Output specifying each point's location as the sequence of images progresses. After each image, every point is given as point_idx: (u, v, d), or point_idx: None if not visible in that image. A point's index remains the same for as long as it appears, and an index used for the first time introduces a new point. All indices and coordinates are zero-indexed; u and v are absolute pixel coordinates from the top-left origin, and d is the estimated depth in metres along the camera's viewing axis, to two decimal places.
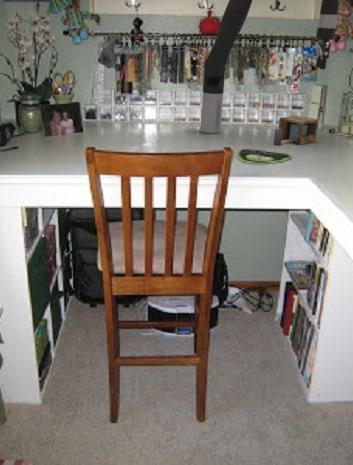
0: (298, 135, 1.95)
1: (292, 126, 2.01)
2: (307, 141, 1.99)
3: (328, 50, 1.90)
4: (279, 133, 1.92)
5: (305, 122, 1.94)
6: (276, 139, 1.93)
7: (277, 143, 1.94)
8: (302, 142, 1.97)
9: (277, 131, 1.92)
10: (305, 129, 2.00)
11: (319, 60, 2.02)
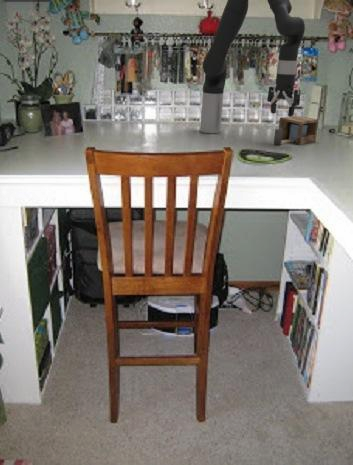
0: (298, 135, 1.95)
1: (292, 126, 2.01)
2: (307, 141, 1.99)
3: None
4: (279, 133, 1.92)
5: (305, 122, 1.94)
6: (276, 139, 1.93)
7: (277, 143, 1.94)
8: (302, 142, 1.97)
9: (277, 131, 1.92)
10: (305, 129, 2.00)
11: None
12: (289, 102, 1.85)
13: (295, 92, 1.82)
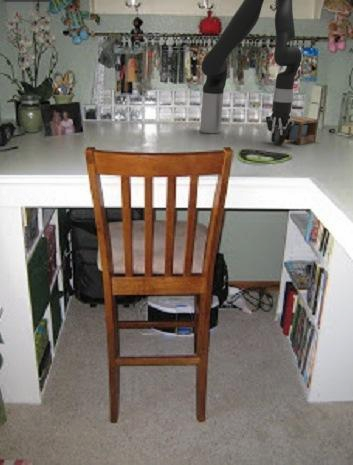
0: (298, 135, 1.95)
1: None
2: (307, 141, 1.99)
3: None
4: (279, 133, 1.92)
5: (305, 122, 1.94)
6: (276, 139, 1.93)
7: (277, 143, 1.94)
8: (302, 142, 1.97)
9: (277, 131, 1.92)
10: (305, 129, 2.00)
11: None
12: (281, 130, 1.91)
13: (289, 123, 1.87)
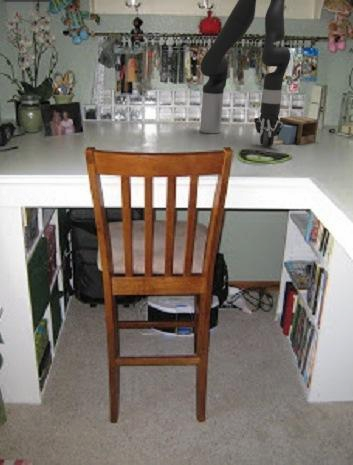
0: (298, 135, 1.95)
1: None
2: (307, 141, 1.99)
3: None
4: (268, 135, 1.88)
5: (305, 122, 1.94)
6: (265, 141, 1.89)
7: (266, 145, 1.90)
8: (302, 142, 1.97)
9: (266, 133, 1.88)
10: (294, 130, 1.97)
11: None
12: (269, 132, 1.87)
13: (278, 125, 1.83)
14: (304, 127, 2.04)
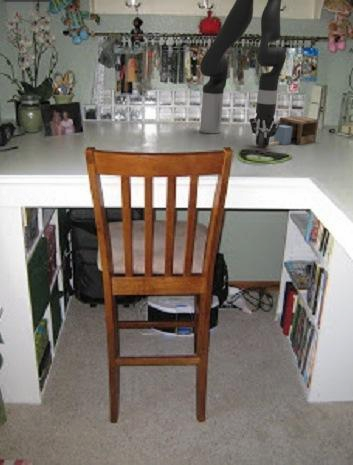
0: (298, 135, 1.95)
1: None
2: (307, 141, 1.99)
3: None
4: (263, 136, 1.86)
5: (305, 122, 1.94)
6: (260, 142, 1.87)
7: (261, 146, 1.88)
8: (302, 142, 1.97)
9: (261, 134, 1.86)
10: (290, 131, 1.95)
11: None
12: (265, 133, 1.85)
13: (273, 126, 1.81)
14: (304, 127, 2.04)
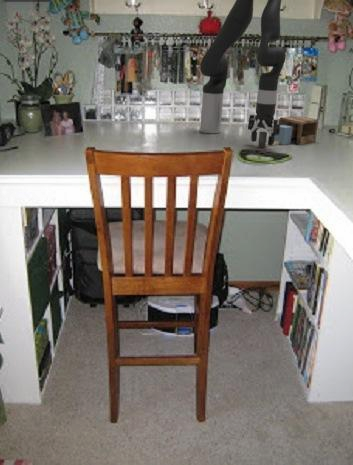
0: (298, 135, 1.95)
1: None
2: (307, 141, 1.99)
3: None
4: (263, 136, 1.86)
5: (305, 122, 1.94)
6: (260, 142, 1.87)
7: (261, 146, 1.88)
8: (302, 142, 1.97)
9: (261, 134, 1.86)
10: (290, 131, 1.95)
11: None
12: (269, 131, 1.83)
13: (275, 122, 1.80)
14: (304, 127, 2.04)
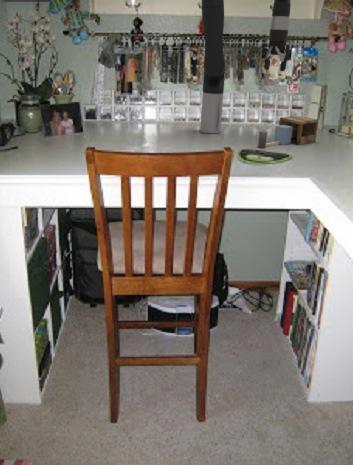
0: (298, 135, 1.95)
1: (277, 128, 1.95)
2: (307, 141, 1.99)
3: None
4: (263, 136, 1.86)
5: (305, 122, 1.94)
6: (260, 142, 1.87)
7: (261, 146, 1.88)
8: (302, 142, 1.97)
9: (261, 134, 1.86)
10: (290, 131, 1.95)
11: None
12: (281, 57, 1.94)
13: (287, 47, 1.91)
14: (304, 127, 2.04)
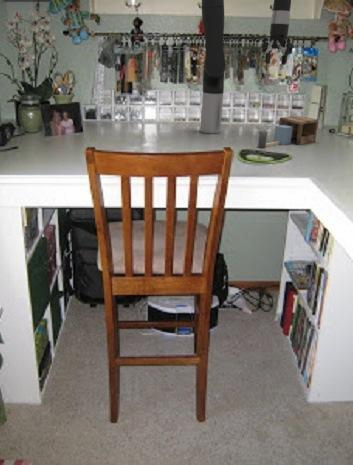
0: (298, 135, 1.95)
1: (277, 128, 1.95)
2: (307, 141, 1.99)
3: None
4: (263, 136, 1.86)
5: (305, 122, 1.94)
6: (260, 142, 1.87)
7: (261, 146, 1.88)
8: (302, 142, 1.97)
9: (261, 134, 1.86)
10: (290, 131, 1.95)
11: None
12: (282, 51, 1.97)
13: (288, 41, 1.94)
14: (304, 127, 2.04)
